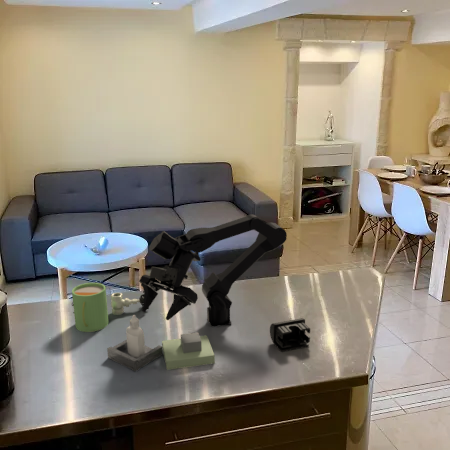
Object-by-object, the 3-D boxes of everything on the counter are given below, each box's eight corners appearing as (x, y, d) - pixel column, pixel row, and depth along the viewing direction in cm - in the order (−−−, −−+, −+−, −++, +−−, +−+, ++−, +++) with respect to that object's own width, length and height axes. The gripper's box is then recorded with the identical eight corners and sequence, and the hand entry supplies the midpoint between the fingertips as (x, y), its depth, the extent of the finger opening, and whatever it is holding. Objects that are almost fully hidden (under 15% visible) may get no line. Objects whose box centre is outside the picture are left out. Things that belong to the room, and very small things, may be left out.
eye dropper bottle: (130, 360, 133) (127, 321, 130) (127, 350, 138) (124, 312, 135) (146, 357, 135) (143, 318, 131) (142, 347, 140) (140, 309, 136)
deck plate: (206, 342, 143) (206, 326, 141) (214, 363, 133) (214, 345, 131) (162, 348, 140) (161, 331, 138) (166, 369, 130) (166, 351, 128)
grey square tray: (135, 342, 143) (134, 333, 143) (162, 354, 137) (162, 344, 136) (108, 358, 136) (107, 348, 135) (135, 371, 129) (134, 361, 128)
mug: (80, 316, 160) (76, 282, 156) (112, 316, 159) (109, 282, 156) (67, 335, 147) (63, 299, 144) (101, 336, 147) (98, 299, 144)
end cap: (299, 334, 147) (300, 314, 145) (310, 346, 141) (311, 325, 139) (269, 340, 144) (269, 320, 142) (279, 352, 138) (280, 331, 136)
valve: (112, 318, 158) (149, 312, 162) (111, 299, 157) (148, 294, 160) (110, 309, 164) (146, 304, 168) (109, 291, 163) (145, 286, 166)
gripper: (141, 249, 144) (115, 296, 139) (189, 261, 134) (164, 313, 128) (161, 265, 153) (137, 311, 147) (208, 278, 142) (185, 328, 137)
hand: (154, 315), depth 140 cm, fingers open, 9 cm apart
